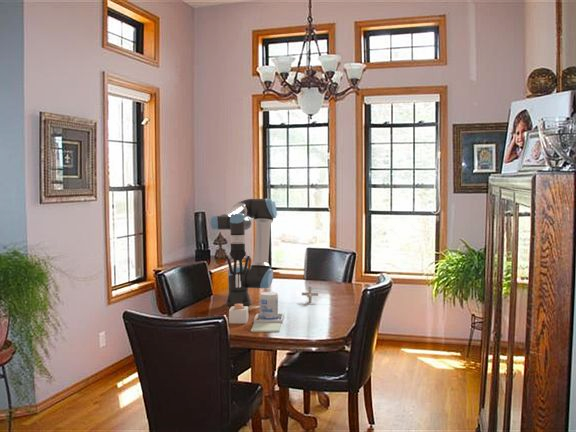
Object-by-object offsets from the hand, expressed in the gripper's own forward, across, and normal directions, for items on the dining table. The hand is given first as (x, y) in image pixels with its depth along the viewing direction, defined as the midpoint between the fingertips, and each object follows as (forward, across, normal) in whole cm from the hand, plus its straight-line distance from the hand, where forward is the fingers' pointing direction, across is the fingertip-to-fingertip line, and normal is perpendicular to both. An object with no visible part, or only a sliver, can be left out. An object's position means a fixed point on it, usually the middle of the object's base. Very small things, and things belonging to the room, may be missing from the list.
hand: (238, 286), depth 303 cm
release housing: (+18, 0, 0) cm, 18 cm away
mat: (+18, +16, -14) cm, 28 cm away
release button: (+14, 0, 0) cm, 14 cm away
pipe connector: (+19, +37, +47) cm, 63 cm away
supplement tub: (+19, +16, +2) cm, 25 cm away
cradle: (+18, +16, +2) cm, 24 cm away
